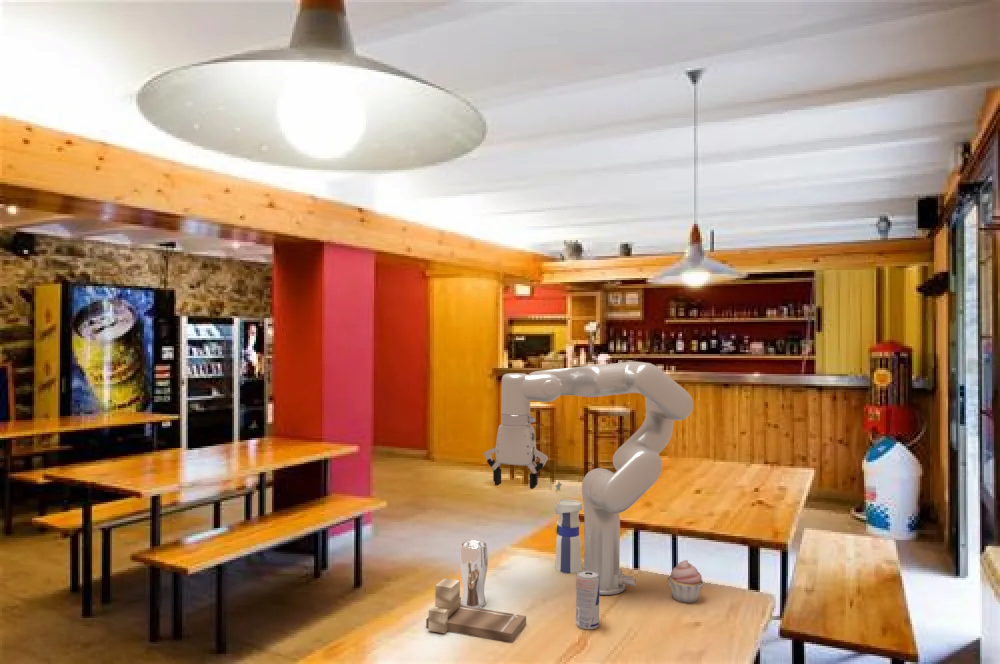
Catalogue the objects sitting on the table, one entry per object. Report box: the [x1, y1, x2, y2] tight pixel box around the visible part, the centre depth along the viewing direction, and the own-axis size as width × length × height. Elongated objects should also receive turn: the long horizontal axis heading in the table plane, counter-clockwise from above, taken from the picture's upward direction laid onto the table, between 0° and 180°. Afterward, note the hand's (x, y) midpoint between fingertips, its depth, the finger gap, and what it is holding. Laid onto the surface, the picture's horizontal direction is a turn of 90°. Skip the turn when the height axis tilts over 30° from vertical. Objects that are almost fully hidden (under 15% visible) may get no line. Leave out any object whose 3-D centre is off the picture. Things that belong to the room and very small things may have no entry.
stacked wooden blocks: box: [427, 577, 462, 634], centre depth 158 cm, size 4×11×9 cm, turn 160°
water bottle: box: [554, 480, 584, 575], centre depth 195 cm, size 8×9×25 cm
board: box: [425, 605, 527, 643], centre depth 157 cm, size 21×10×2 cm, turn 69°
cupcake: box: [667, 559, 705, 604], centre depth 174 cm, size 9×9×10 cm
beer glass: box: [459, 539, 489, 609], centre depth 170 cm, size 7×7×15 cm
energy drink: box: [575, 569, 600, 631], centre depth 158 cm, size 5×5×12 cm
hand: (515, 486), depth 176 cm, fingers open, 9 cm apart
